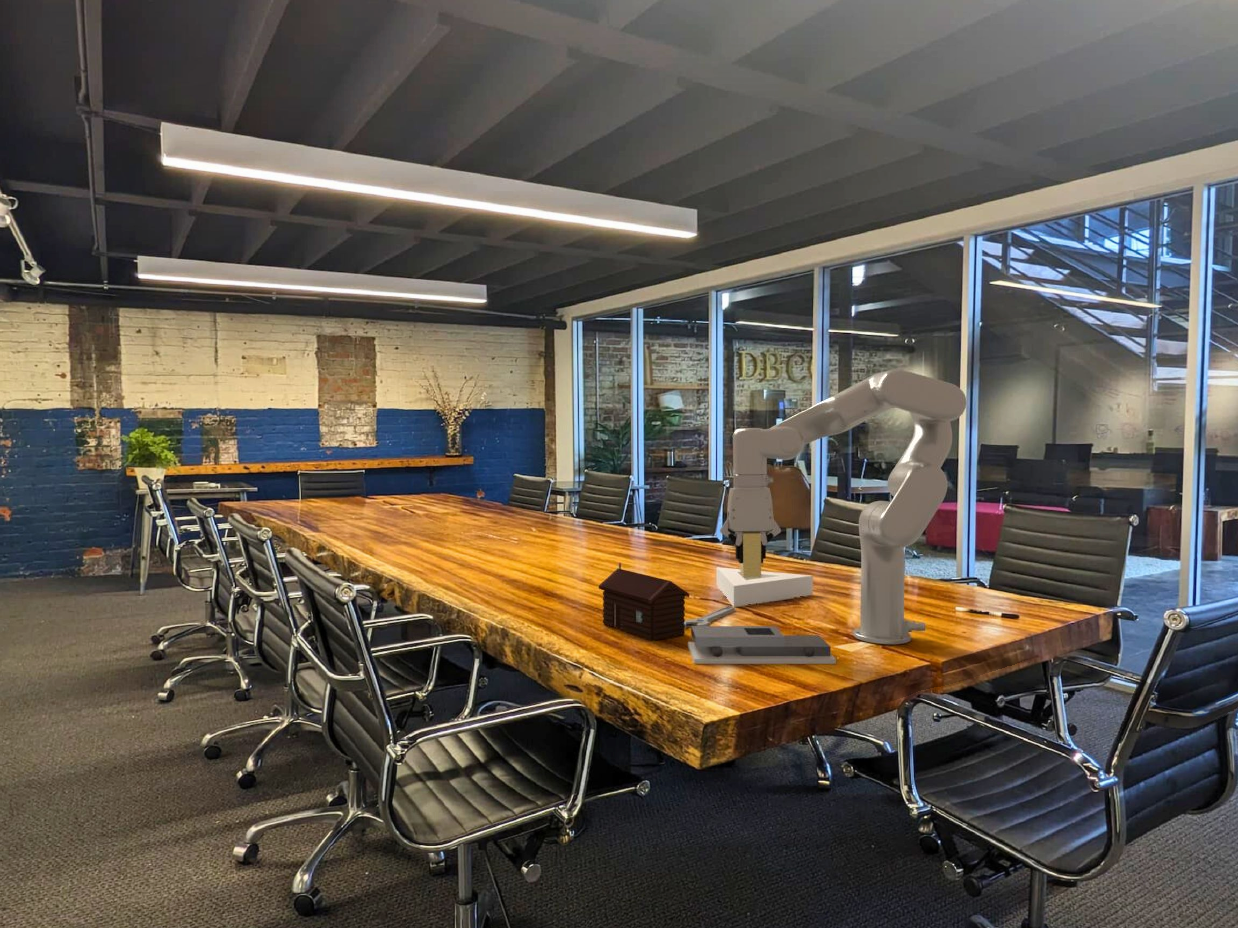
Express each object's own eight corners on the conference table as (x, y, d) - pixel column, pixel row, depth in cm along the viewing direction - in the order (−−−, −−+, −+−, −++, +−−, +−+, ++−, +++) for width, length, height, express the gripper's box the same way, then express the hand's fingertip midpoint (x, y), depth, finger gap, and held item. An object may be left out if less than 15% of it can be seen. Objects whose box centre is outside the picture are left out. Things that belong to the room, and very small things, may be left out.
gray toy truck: (818, 643, 168) (818, 625, 168) (831, 656, 158) (831, 637, 158) (690, 643, 168) (690, 625, 168) (695, 656, 158) (695, 637, 158)
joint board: (818, 646, 170) (818, 641, 170) (835, 663, 157) (835, 658, 157) (687, 646, 169) (687, 641, 169) (694, 663, 156) (694, 658, 156)
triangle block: (733, 609, 208) (733, 585, 208) (677, 592, 231) (677, 571, 230) (812, 597, 224) (813, 575, 224) (753, 582, 246) (753, 563, 246)
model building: (598, 624, 189) (598, 564, 189) (635, 618, 196) (635, 559, 196) (650, 642, 173) (650, 576, 172) (689, 635, 179) (689, 571, 179)
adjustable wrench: (726, 611, 206) (727, 604, 206) (748, 614, 202) (748, 608, 202) (676, 629, 186) (676, 621, 186) (699, 633, 182) (699, 626, 182)
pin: (757, 574, 177) (757, 531, 177) (761, 577, 173) (760, 533, 173) (740, 574, 177) (740, 531, 176) (743, 577, 173) (743, 533, 172)
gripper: (783, 480, 178) (783, 559, 179) (711, 481, 178) (711, 560, 178) (790, 482, 170) (790, 564, 171) (715, 483, 170) (716, 565, 171)
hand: (750, 561), depth 175 cm, fingers closed on pin, 4 cm apart
